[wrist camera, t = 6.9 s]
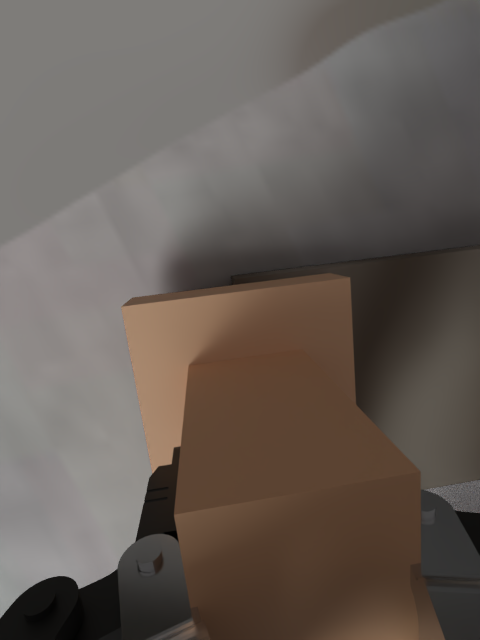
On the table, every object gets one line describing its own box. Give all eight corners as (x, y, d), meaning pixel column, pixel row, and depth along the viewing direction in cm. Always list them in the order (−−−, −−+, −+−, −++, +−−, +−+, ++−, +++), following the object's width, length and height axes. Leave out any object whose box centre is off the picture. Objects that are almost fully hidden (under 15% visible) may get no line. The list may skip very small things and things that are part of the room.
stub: (329, 272, 14) (535, 319, 6) (343, 503, 17) (502, 794, 8) (132, 297, 14) (11, 393, 5) (174, 533, 16) (144, 885, 7)
